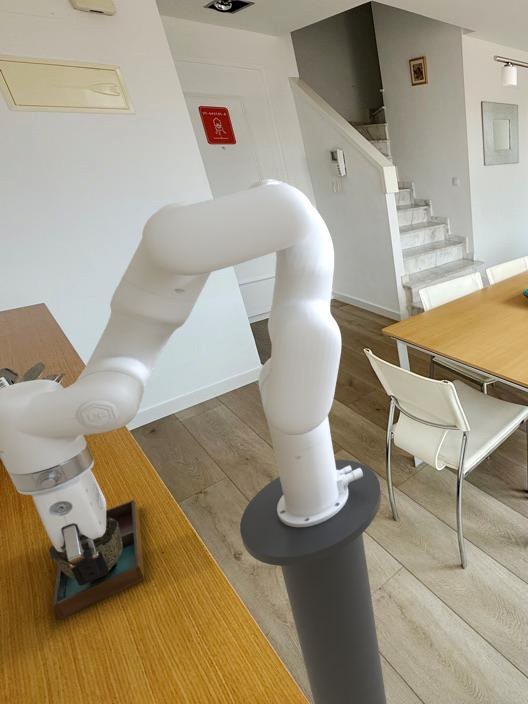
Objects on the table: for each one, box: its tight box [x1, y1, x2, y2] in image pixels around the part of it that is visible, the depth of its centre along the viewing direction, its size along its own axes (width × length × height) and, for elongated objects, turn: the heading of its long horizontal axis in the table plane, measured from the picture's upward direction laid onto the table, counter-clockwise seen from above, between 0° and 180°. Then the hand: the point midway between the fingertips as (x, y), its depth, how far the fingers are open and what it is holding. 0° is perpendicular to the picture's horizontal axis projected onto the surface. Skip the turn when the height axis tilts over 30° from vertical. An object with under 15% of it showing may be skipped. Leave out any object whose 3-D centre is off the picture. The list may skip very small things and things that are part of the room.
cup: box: [48, 517, 122, 583], centre depth 63 cm, size 8×7×8 cm
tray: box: [52, 499, 145, 621], centre depth 67 cm, size 9×18×3 cm, turn 42°
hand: (95, 559), depth 64 cm, fingers closed on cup, 7 cm apart
